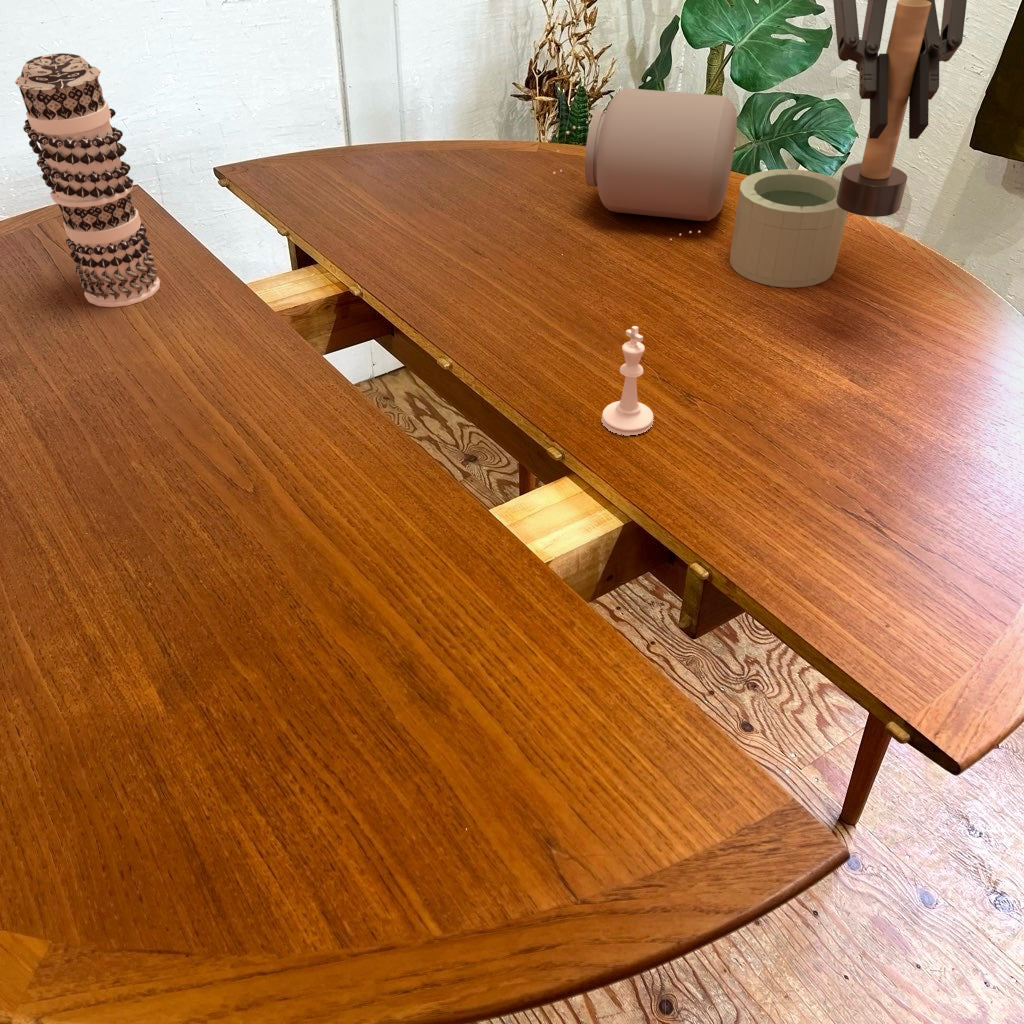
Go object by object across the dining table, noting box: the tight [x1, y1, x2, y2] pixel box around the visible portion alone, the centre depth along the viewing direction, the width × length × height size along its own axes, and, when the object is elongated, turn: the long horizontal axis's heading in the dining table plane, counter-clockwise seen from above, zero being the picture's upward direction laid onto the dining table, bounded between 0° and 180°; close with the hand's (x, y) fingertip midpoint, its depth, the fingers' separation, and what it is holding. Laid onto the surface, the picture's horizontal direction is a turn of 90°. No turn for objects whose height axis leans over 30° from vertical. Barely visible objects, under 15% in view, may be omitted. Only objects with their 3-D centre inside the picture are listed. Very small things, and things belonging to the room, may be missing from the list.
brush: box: [836, 0, 931, 218], centre depth 89 cm, size 6×6×18 cm
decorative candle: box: [14, 52, 161, 308], centre depth 103 cm, size 9×9×25 cm
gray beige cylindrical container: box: [729, 168, 849, 289], centre depth 111 cm, size 12×12×9 cm
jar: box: [541, 88, 738, 242], centre depth 122 cm, size 19×15×25 cm
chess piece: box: [600, 325, 655, 437], centre depth 87 cm, size 5×5×10 cm
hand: (898, 131), depth 86 cm, fingers closed on brush, 3 cm apart
